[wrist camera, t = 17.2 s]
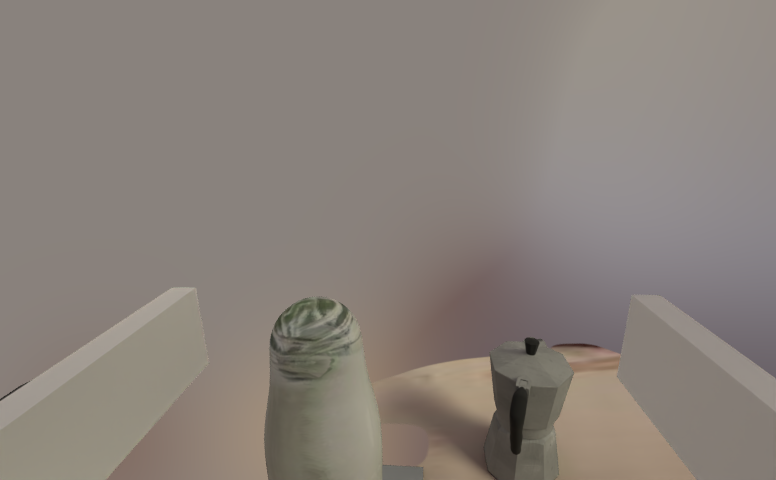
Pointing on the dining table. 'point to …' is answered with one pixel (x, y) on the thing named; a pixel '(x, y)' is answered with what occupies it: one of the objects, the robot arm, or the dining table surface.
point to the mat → (401, 473)
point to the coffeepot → (526, 410)
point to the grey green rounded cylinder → (320, 397)
